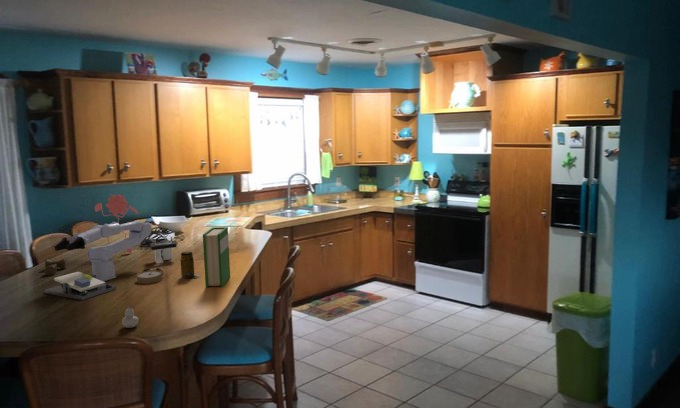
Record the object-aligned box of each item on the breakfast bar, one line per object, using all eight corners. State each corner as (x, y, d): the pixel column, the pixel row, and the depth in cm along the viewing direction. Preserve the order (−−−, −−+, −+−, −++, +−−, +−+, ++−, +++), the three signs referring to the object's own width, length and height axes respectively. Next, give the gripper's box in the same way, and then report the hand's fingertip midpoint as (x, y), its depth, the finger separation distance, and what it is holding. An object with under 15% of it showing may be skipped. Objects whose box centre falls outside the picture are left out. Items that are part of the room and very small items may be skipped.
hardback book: (222, 287, 238) (219, 234, 234) (205, 287, 237) (202, 234, 234) (230, 276, 255) (227, 227, 252) (214, 277, 255) (212, 227, 252)
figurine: (138, 255, 305) (134, 194, 301) (93, 256, 306) (88, 195, 302) (148, 250, 320) (144, 192, 317) (105, 251, 321) (101, 193, 317)
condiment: (183, 275, 260) (181, 250, 259) (200, 274, 260) (199, 250, 258) (178, 279, 253) (177, 254, 251) (196, 278, 253) (195, 253, 251)
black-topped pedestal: (138, 270, 272) (136, 245, 270) (135, 260, 296) (133, 236, 294) (194, 264, 283) (193, 239, 282) (187, 254, 307) (186, 231, 305)
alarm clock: (133, 278, 245) (142, 265, 259) (134, 288, 246) (143, 274, 261) (158, 277, 246) (166, 264, 260) (159, 287, 247) (167, 273, 262)
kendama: (39, 277, 264) (49, 267, 283) (60, 276, 266) (69, 266, 285) (38, 266, 263) (48, 256, 282) (60, 264, 265) (68, 255, 284)
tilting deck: (53, 280, 235) (54, 273, 234) (78, 273, 245) (78, 267, 244) (81, 291, 227) (81, 285, 226) (105, 284, 237) (105, 278, 237)
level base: (44, 293, 235) (43, 280, 234) (79, 283, 250) (78, 271, 249) (82, 300, 223) (81, 287, 222) (116, 289, 238) (115, 277, 237)
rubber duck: (120, 330, 187) (118, 308, 186) (124, 324, 193) (123, 302, 192) (136, 329, 188) (135, 307, 187) (140, 322, 194) (138, 301, 193)
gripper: (72, 230, 248) (47, 240, 236) (95, 229, 242) (70, 239, 230) (77, 244, 250) (52, 255, 238) (99, 243, 244) (74, 254, 232)
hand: (61, 248), depth 234 cm, fingers open, 7 cm apart
